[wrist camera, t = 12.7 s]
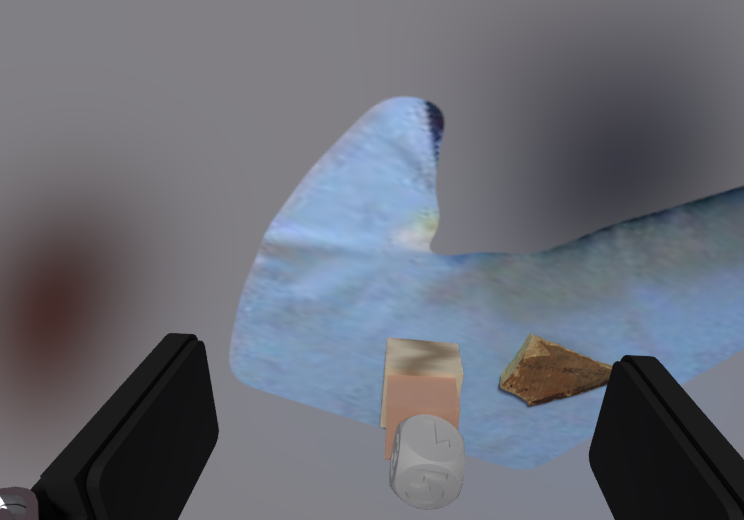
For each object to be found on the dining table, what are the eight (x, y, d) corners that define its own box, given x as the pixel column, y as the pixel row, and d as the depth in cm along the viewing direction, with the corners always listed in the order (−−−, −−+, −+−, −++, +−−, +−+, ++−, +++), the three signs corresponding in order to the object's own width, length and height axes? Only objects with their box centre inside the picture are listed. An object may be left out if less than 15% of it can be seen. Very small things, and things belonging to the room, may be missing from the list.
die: (461, 418, 37) (468, 469, 32) (446, 462, 39) (452, 515, 34) (401, 408, 37) (400, 457, 32) (390, 452, 39) (388, 504, 34)
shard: (626, 367, 44) (634, 379, 43) (581, 420, 47) (587, 432, 46) (530, 326, 43) (535, 337, 42) (491, 383, 46) (494, 395, 45)
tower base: (457, 342, 44) (463, 374, 40) (448, 398, 47) (453, 434, 42) (387, 336, 44) (385, 367, 40) (382, 392, 47) (380, 427, 43)
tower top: (455, 377, 40) (460, 409, 36) (450, 429, 42) (454, 463, 39) (388, 374, 40) (386, 405, 37) (386, 425, 43) (385, 459, 39)
